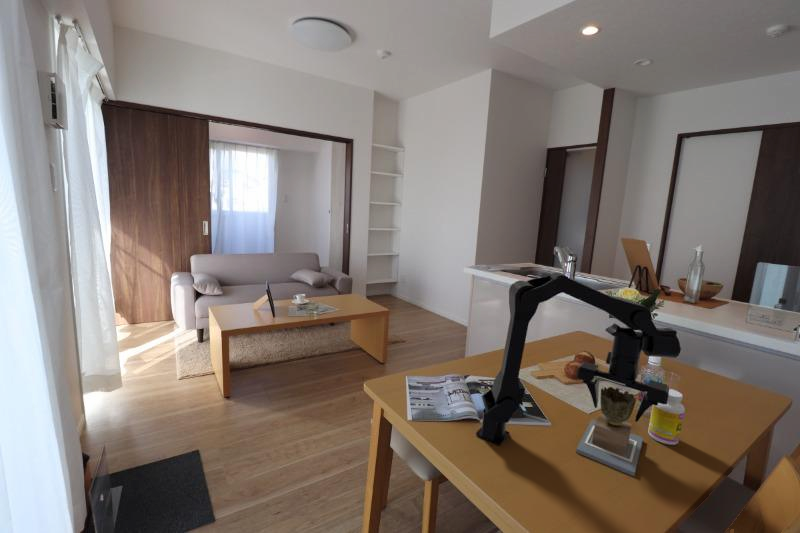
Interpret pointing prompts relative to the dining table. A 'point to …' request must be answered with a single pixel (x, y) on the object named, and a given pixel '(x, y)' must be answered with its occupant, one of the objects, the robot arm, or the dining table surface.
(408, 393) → the dining table surface
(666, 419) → the supplement bottle
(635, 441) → the slate board
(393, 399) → the dining table surface
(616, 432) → the walnut block
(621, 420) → the cup
